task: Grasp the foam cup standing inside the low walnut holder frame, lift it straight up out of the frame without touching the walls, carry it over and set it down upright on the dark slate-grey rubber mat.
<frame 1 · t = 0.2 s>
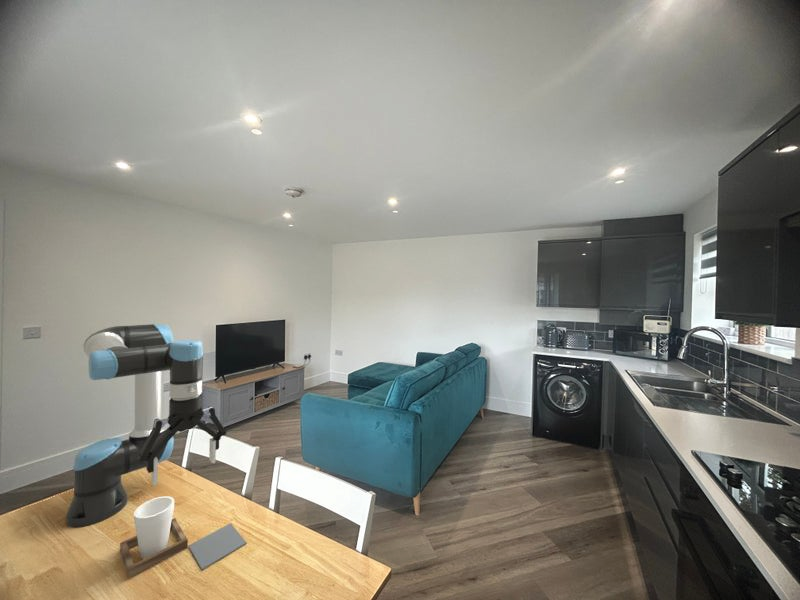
hand: (185, 471, 84), 27 cm above the table, fingers open, 13 cm apart
holder: (154, 549, 90), on the table
foam cup: (154, 550, 90), on the table
mat: (217, 545, 92), on the table
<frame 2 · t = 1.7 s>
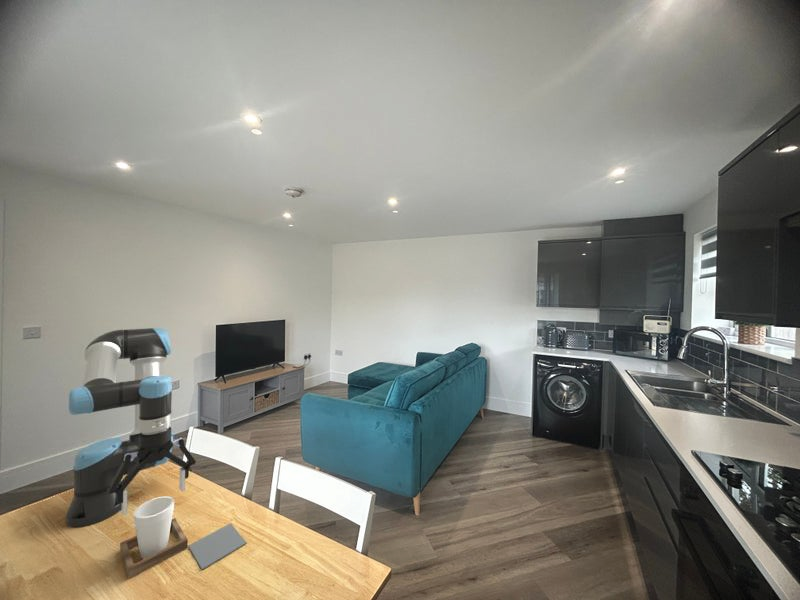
hand: (154, 500, 90), 15 cm above the table, fingers open, 13 cm apart
nothing on the table moved.
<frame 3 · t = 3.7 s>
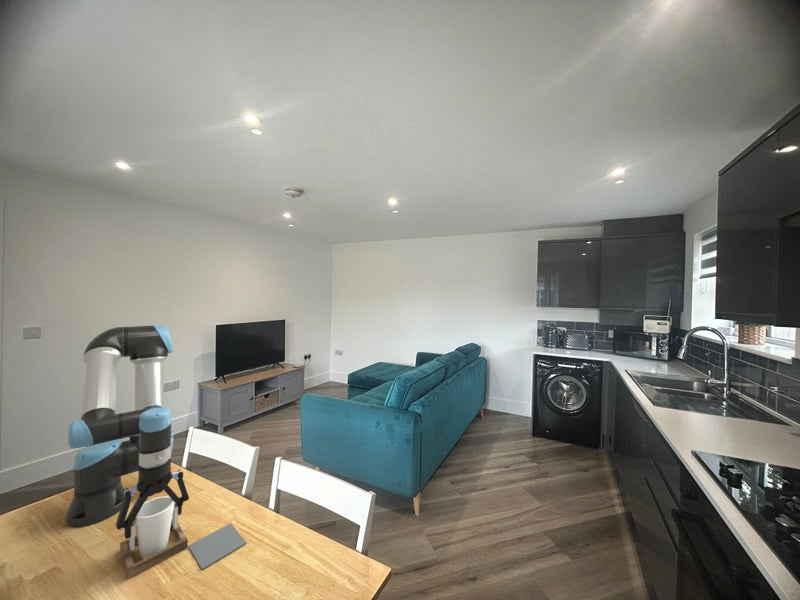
hand: (154, 535, 90), 4 cm above the table, fingers closed on foam cup, 9 cm apart
foam cup: (154, 550, 90), on the table, touching gripper
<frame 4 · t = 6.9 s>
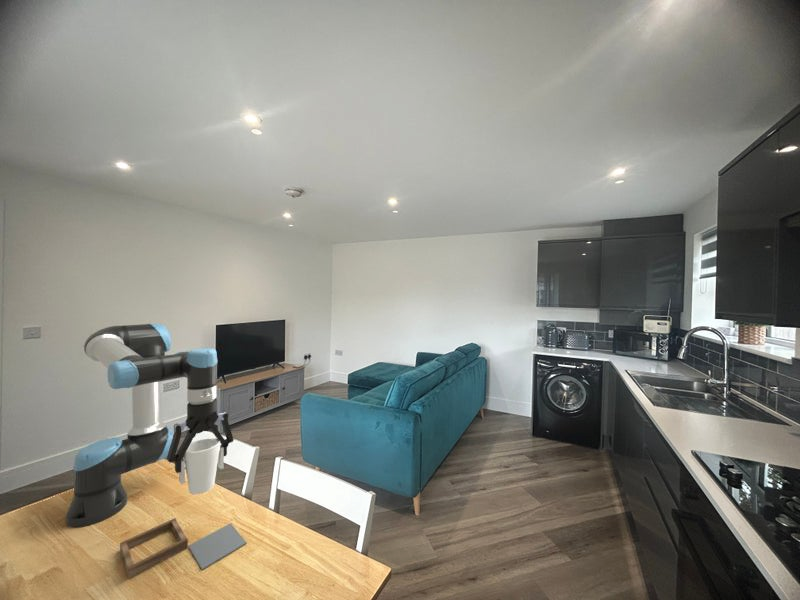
hand: (202, 474, 91), 23 cm above the table, fingers closed on foam cup, 9 cm apart
foam cup: (201, 488, 91), point 18 cm above the table, touching gripper
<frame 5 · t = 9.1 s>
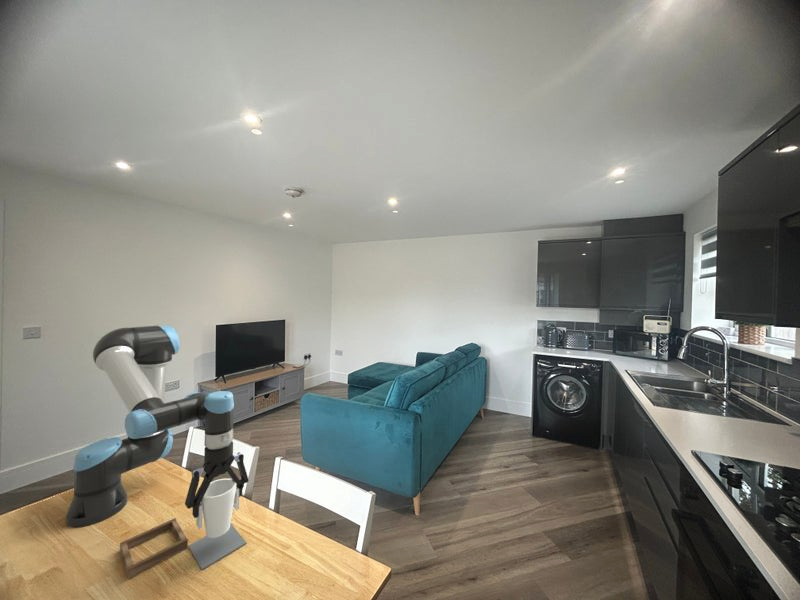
hand: (218, 516, 92), 9 cm above the table, fingers closed on foam cup, 9 cm apart
foam cup: (218, 530, 92), point 5 cm above the table, touching gripper
when the fingers open (6 cm above the table, at t = 10.6 s): foam cup drops 1 cm, resting on mat.
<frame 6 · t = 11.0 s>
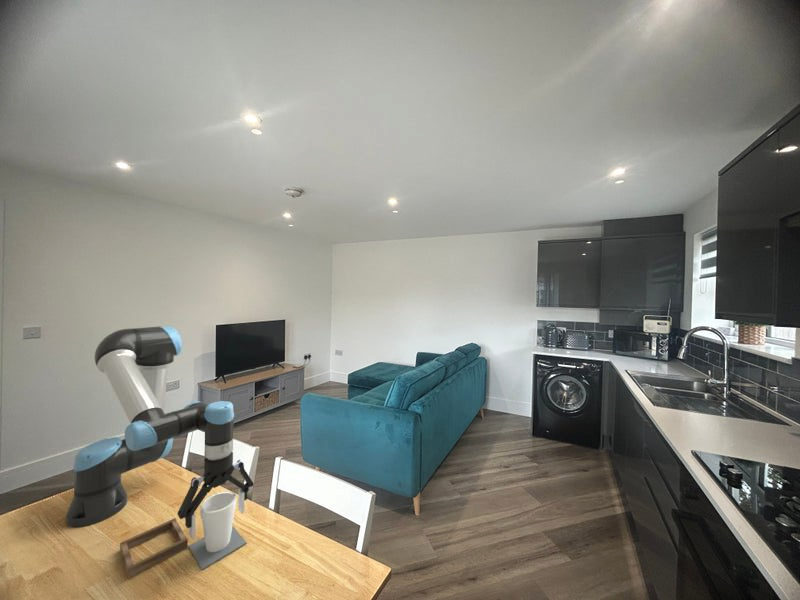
hand: (218, 523, 92), 7 cm above the table, fingers open, 13 cm apart
foam cup: (218, 544, 92), resting on mat
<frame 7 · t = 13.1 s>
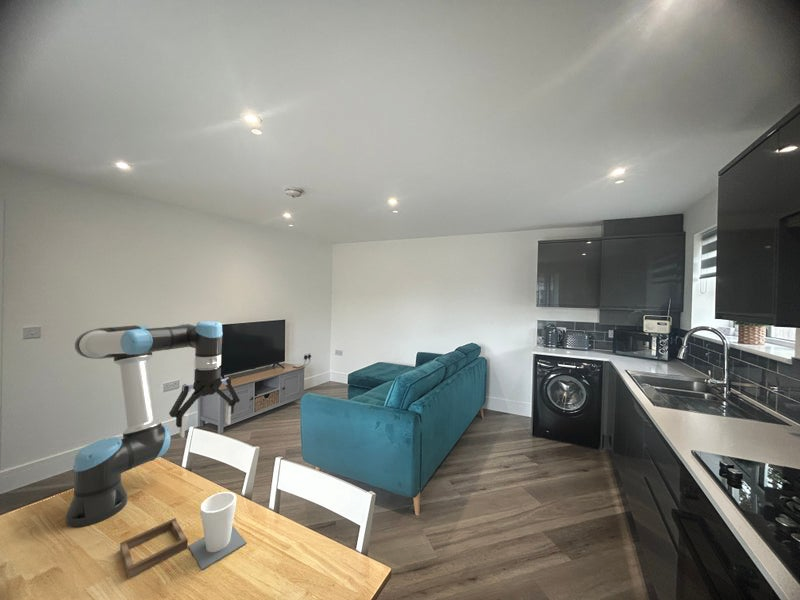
hand: (206, 429, 102), 31 cm above the table, fingers open, 13 cm apart
nothing on the table moved.
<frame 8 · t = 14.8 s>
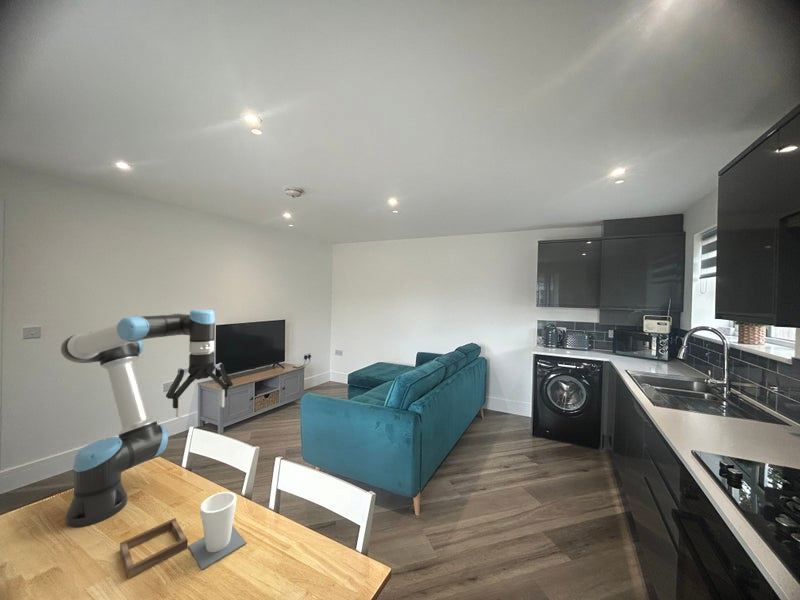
hand: (201, 411, 108), 35 cm above the table, fingers open, 13 cm apart
nothing on the table moved.
at the end: foam cup inside the target area on the mat (0.2 cm from its centre), point 0.2 cm above the mat's base; foam cup tilted 0°; the gripper is holding nothing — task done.
